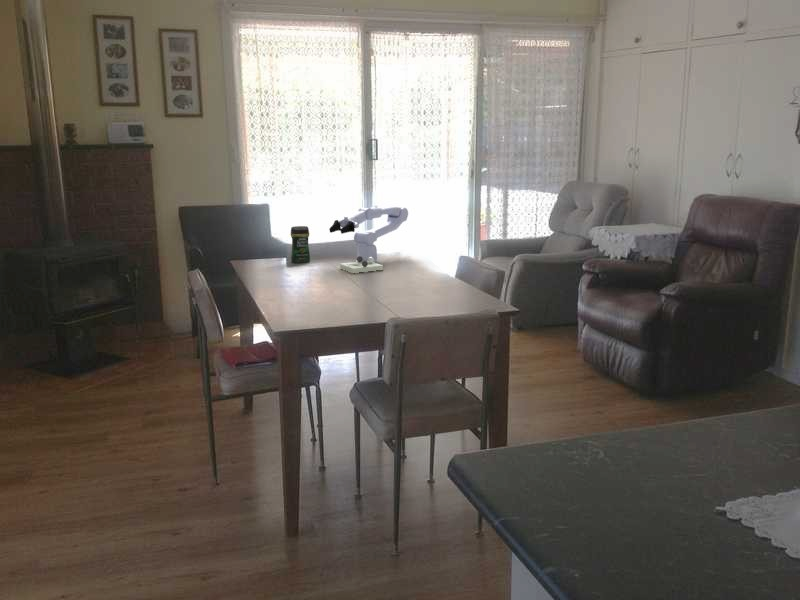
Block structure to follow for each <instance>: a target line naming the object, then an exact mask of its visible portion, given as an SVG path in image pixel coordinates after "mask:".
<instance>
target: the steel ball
mask: <svg viewBox="0 0 800 600" xmlns="http://www.w3.org/2000/svg"><path fill="white" fill-rule="evenodd" d="M367 261H368V263H370V264H371V263H373V262H374V259H373V258H372V257H369V258H368V259H367Z"/></svg>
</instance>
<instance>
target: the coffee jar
mask: <svg viewBox="0 0 800 600" xmlns="http://www.w3.org/2000/svg"><path fill="white" fill-rule="evenodd" d="M309 230H310V229H309V227H308V226H304V225H298V226H297V225H296V226H291V228H290V237H291V258H290V260H291V262H292V263H295V264H300V263H301V264H303V263H305V264H306V263H309V262H311V256H310V246H309V237H310V231H309Z"/></svg>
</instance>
